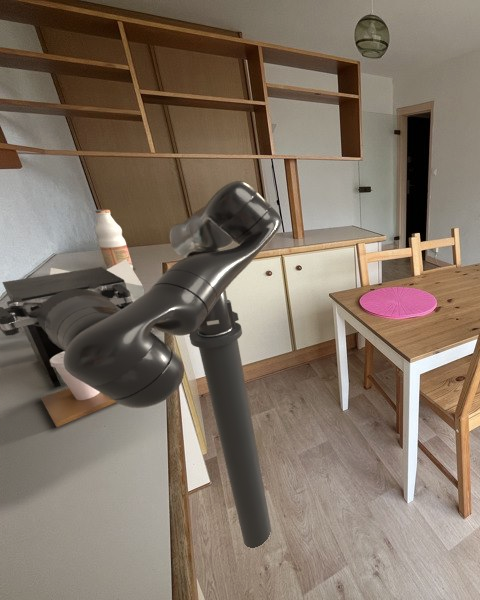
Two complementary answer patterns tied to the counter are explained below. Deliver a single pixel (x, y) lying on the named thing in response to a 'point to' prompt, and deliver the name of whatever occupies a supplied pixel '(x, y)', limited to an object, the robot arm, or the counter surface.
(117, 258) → the fruit juice
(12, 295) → the shelf
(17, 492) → the counter surface
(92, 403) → the board
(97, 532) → the counter surface
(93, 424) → the counter surface
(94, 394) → the smoothie
